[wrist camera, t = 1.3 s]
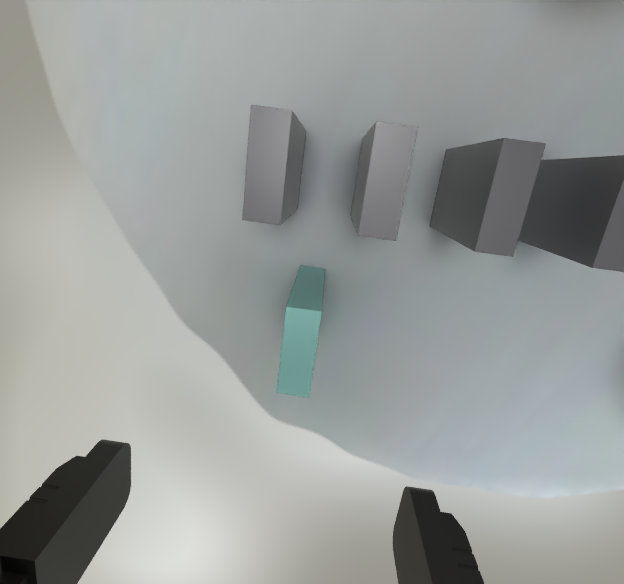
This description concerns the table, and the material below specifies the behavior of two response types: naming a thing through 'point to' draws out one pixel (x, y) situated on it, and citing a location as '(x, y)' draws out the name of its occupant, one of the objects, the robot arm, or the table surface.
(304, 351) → the domino
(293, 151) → the domino
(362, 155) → the domino
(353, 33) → the table surface
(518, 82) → the table surface
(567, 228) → the domino
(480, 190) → the domino
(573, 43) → the table surface
